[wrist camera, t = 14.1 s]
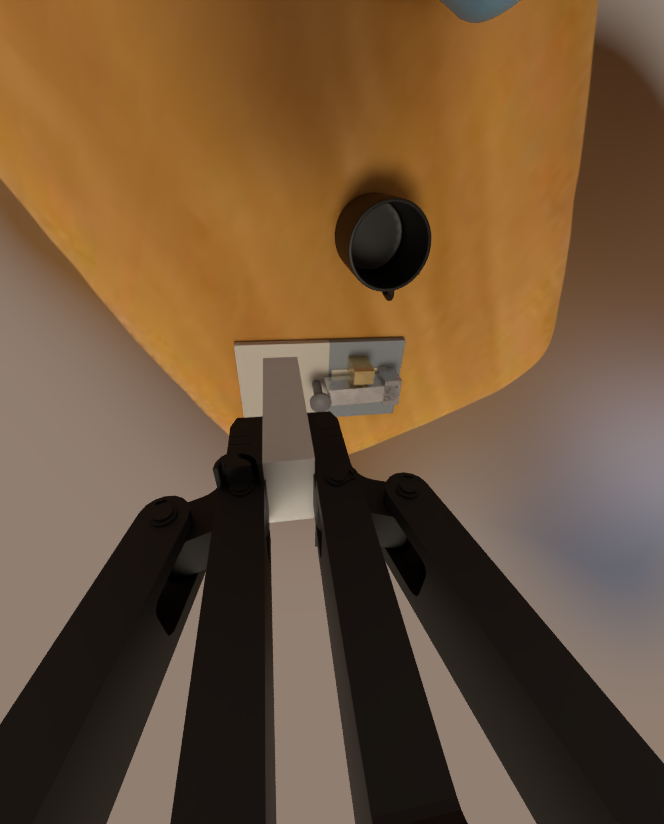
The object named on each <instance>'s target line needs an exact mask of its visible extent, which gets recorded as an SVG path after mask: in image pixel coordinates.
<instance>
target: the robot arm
mask: <svg viewBox="0 0 664 824" xmlns="http://www.w3.org/2000/svg"><path fill="white" fill-rule="evenodd" d="M440 1H441V2H443V3H444V4H445V5H446V6H447V7H448V8H449V9H450V10H451V11H452V12H453V13H454V14H455V15H456V16H457V17H458V18H460V19H461V20H464V21H467V22H470V23H480V22H484V21H488V20H490V19H492V18H495V17H497V16H499V15H500V14H502V13H504V12H505V11H507V10H508V9H510V8H511V7H513V6H514V5H515V4H516V3H518V2H519V1H520V0H440ZM213 472H214V476H215V481H216V485H217V489H216V490H214V491H213V492H211V493H210V494H209V495H206V496H204V497H202V498H199V499H196V500H193V501H190V502H187V501H186V500H185V499H183V498H181V497H178V496H165V497H162V498H159V499H156V500H154V501H152V502H151V503H149V504H148V505H146V506H145V508H143V510H142V511H141V512H140V513H139V514H138V516H137V517H136V519H135V520H134V522H133V523H132V525H131V526H130V528H129V529H128V531H127V532H126V534H125V535H124V537H123V538H122V540H121V541H120V543H119V545H118V546H117V548H116V549H115V551H114V552H113V554H112V555H111V557H110V558H109V560H108V561H107V563H106V564H105V566H104V567H103V569H102V570H101V572H100V573H99V575H98V577H97V578H96V579H95V581H94V583H93V584H92V586H91V587H90V589H89V590H88V592H87V593H86V595H85V596H84V598H83V599H82V601H81V602H80V604H79V605H78V607H77V608H76V610H75V611H74V613H73V615H72V616H71V618H70V619H69V621H68V622H67V624H66V625H65V627H64V628H63V630H62V631H61V633H60V634H59V636H58V637H57V639H56V640H55V642H54V643H53V645H52V646H51V648H50V650H49V651H48V652H47V654H46V656H45V657H44V659H43V660H42V662H41V663H40V665H39V666H38V668H37V669H36V671H35V672H34V674H33V675H32V677H31V678H30V680H29V682H28V683H27V684H26V686H25V688H24V689H23V691H22V692H21V694H20V695H19V697H18V698H17V700H16V701H15V703H14V704H13V706H12V707H11V709H10V710H9V712H8V713H7V715H6V717H5V718H4V719H3V721H2V723H1V724H0V824H106V823H107V821H108V818H109V815H110V812H111V810H112V808H113V805H114V803H115V800H116V798H117V795H118V793H119V790H120V788H121V785H122V782H123V780H124V777H125V775H126V772H127V770H128V767H129V764H130V762H131V760H132V757H133V755H134V752H135V749H136V747H137V744H138V742H139V739H140V737H141V734H142V732H143V729H144V727H145V724H146V722H147V719H148V716H149V714H150V711H151V709H152V706H153V704H154V701H155V699H156V696H157V694H158V691H159V689H160V686H161V683H162V681H163V678H164V676H165V673H166V671H167V668H168V666H169V663H170V661H171V658H172V656H173V653H174V651H175V648H176V646H177V643H178V640H179V638H180V635H181V633H182V630H183V628H184V625H185V623H186V620H187V618H188V615H189V613H190V610H191V607H192V605H193V602H194V600H195V597H196V595H197V592H198V590H199V587H200V585H201V582H202V580H203V577H204V574H205V572H206V575H205V582H204V589H203V597H202V604H201V610H200V617H199V618H200V619H199V625H198V632H197V640H196V647H195V653H194V660H193V667H192V675H191V681H190V688H189V696H188V703H187V710H186V717H185V724H184V731H183V738H182V745H181V753H180V759H179V766H178V774H177V781H176V788H175V795H174V802H173V809H172V816H171V823H170V824H276V790H275V789H276V786H275V738H274V737H275V736H274V692H273V691H274V689H273V638H272V593H271V591H272V590H271V589H272V588H271V539H270V530H269V523H272V522H281V521H290V520H299V519H308V518H314V515H315V521H316V532H315V533H316V534H315V536H316V537H315V546H317V547H318V554H319V562H320V569H321V576H322V584H323V591H324V598H325V606H326V612H327V620H328V627H329V635H330V642H331V649H332V656H333V664H334V671H335V678H336V686H337V693H338V700H339V708H340V714H341V722H342V729H343V736H344V744H345V751H346V759H347V766H348V773H349V780H350V788H351V795H352V802H353V810H354V817H355V824H468V823H467V821H466V819H465V817H464V815H463V812H462V810H461V807H460V805H459V802H458V799H457V796H456V792H455V789H454V786H453V783H452V780H451V776H450V773H449V770H448V766H447V763H446V760H445V756H444V753H443V750H442V747H441V743H440V740H439V737H438V733H437V730H436V727H435V723H434V720H433V717H432V714H431V710H430V707H429V704H428V701H427V697H426V694H425V691H424V687H423V684H422V681H421V678H420V674H419V671H418V668H417V664H416V661H415V658H414V654H413V651H412V648H411V645H410V641H409V638H408V635H407V632H406V628H405V625H404V622H403V618H402V615H401V612H400V608H399V605H398V602H397V598H396V595H395V592H394V589H393V585H392V582H391V579H390V575H389V572H388V569H387V566H386V563H387V565H388V566H389V568H390V570H391V572H392V573H393V575H394V577H395V579H396V580H397V582H398V584H399V586H400V587H401V589H402V591H403V592H404V594H405V596H406V598H407V599H408V601H409V603H410V604H411V606H412V608H413V610H414V612H415V613H416V615H417V617H418V618H419V620H420V622H421V624H422V625H423V627H424V629H425V631H426V632H427V634H428V636H429V638H430V639H431V641H432V643H433V644H434V646H435V648H436V649H437V651H438V653H439V655H440V656H441V658H442V660H443V662H444V663H445V665H446V667H447V669H448V670H449V672H450V674H451V676H452V677H453V679H454V681H455V683H456V684H457V686H458V688H459V689H460V691H461V693H462V695H463V697H464V698H465V700H466V702H467V703H468V705H469V707H470V709H471V710H472V712H473V714H474V716H475V717H476V719H477V721H478V722H479V724H480V726H481V728H482V729H483V731H484V733H485V735H486V736H487V738H488V740H489V742H490V743H491V745H492V747H493V748H494V750H495V752H496V754H497V755H498V757H499V759H500V761H501V762H502V764H503V766H504V768H505V769H506V771H507V773H508V775H509V776H510V778H511V780H512V781H513V783H514V785H515V787H516V788H517V790H518V792H519V794H520V795H521V797H522V799H523V801H524V802H525V804H526V806H527V808H528V809H529V811H530V813H531V814H532V816H533V818H534V820H535V821H536V823H537V824H664V763H663V762H662V761H661V760H660V759H659V757H658V756H657V755H656V754H655V753H654V751H653V750H652V749H651V748H650V747H649V746H648V744H647V743H646V742H645V741H644V740H643V739H642V737H641V736H640V735H639V734H638V733H637V731H636V730H635V729H634V728H633V727H632V725H631V724H630V723H629V722H628V721H627V720H626V718H625V717H624V716H623V715H622V714H621V713H620V711H619V710H618V709H617V708H616V707H615V705H614V704H613V703H612V702H611V701H610V699H609V698H608V697H607V696H606V695H605V694H604V693H603V691H602V690H601V689H600V688H599V686H598V685H597V684H596V683H595V682H594V681H593V679H592V678H591V677H590V676H589V675H588V673H587V672H586V671H585V670H584V669H583V667H582V666H581V665H580V664H579V663H578V662H577V661H576V659H575V658H574V657H573V656H572V654H571V653H570V652H569V651H568V650H567V649H566V647H565V646H564V645H563V644H562V643H561V642H560V641H559V639H558V638H557V637H556V636H555V634H554V633H553V632H552V631H551V630H550V628H549V627H548V626H547V625H546V624H545V623H544V621H543V620H542V619H541V618H540V617H539V615H538V614H537V613H536V612H535V611H534V610H533V608H532V607H531V606H530V605H529V604H528V602H527V601H526V600H525V599H524V598H523V597H522V595H521V594H520V593H519V592H518V591H517V589H516V588H515V587H514V586H513V585H512V583H510V581H509V580H508V579H507V578H506V576H505V575H504V574H503V573H502V572H501V571H500V569H499V568H498V567H497V566H496V565H495V563H494V562H493V561H492V560H491V559H490V557H489V556H488V555H487V554H486V553H485V552H484V550H483V549H482V548H481V547H480V546H479V544H478V543H477V542H476V541H475V540H474V539H473V537H472V536H471V535H470V534H469V533H468V531H467V530H466V529H465V528H464V527H463V526H462V524H461V523H460V522H459V521H458V520H457V518H456V517H455V516H454V515H453V514H452V512H451V511H450V510H449V509H448V508H447V507H446V505H445V504H444V503H443V502H442V501H441V499H440V498H439V497H438V496H437V495H436V494H435V493H434V491H433V490H432V489H431V488H430V487H429V485H428V484H427V483H426V482H425V481H424V480H423V479H421V478H420V477H418V476H416V475H413V474H410V473H396V474H394V475H392V476H390V477H389V479H388V480H387V481H386V482H384V481H378V480H372V479H368V478H366V477H363V476H361V475H360V474H358V473H357V471H356V470H355V469H354V468H353V467H352V465H351V463H350V459H349V456H348V453H347V449H346V446H345V442H344V439H343V437H342V432H341V430H340V425H339V422H338V419H337V418H336V417H335V416H334V415H333V414H332V413H331V412H330V411H325V412H310V413H307V410H306V404H305V399H304V393H303V387H302V382H301V376H300V370H299V364H298V359H297V357H276V358H263V416H261V417H246V418H237V419H236V420H235V422H234V423H233V424H232V426H231V427H230V434H229V442H228V450H227V454H226V455H224V456H222V457H221V458H220V459H219V460H217V462H216V463H215V465H214V467H213ZM385 561H386V562H385Z"/></svg>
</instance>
